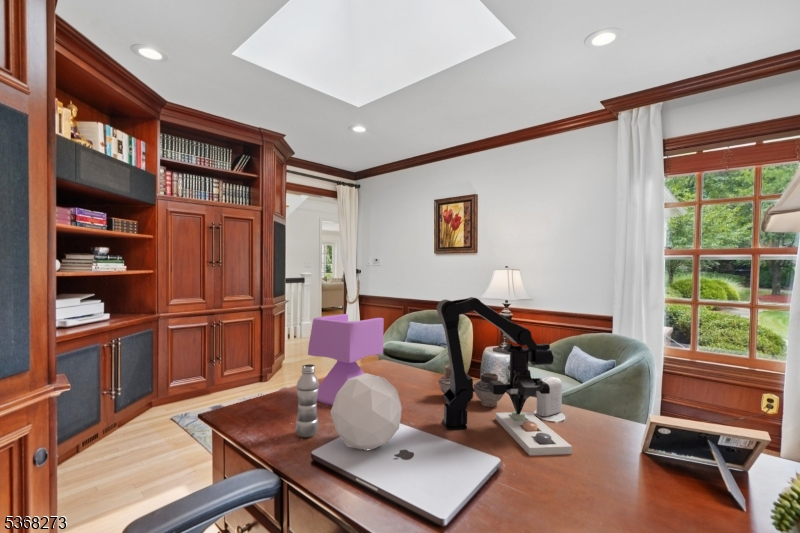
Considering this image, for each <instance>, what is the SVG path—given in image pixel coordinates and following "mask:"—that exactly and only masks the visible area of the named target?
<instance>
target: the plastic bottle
mask: <svg viewBox="0 0 800 533" xmlns="http://www.w3.org/2000/svg"><path fill="white" fill-rule="evenodd" d="M315 373H316V366H315V364H310V363H309V364H303V365H302V366H301V376H299V379H298V380H297V383H296V395H297V416H296V422H295V426H294V427H295V433H296V434H297V436H298V437H300V438H311V437H312V436H315V435H316V434H317V432H318V431H319V430H318V429H319V426H320V424H319V418H318V407H317V406H318V401H317V396H318V389H319V385H320V381H319V379H318V377H317V376H316V374H315Z"/></svg>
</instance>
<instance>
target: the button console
mask: <svg viewBox="0 0 800 533" xmlns="http://www.w3.org/2000/svg"><path fill="white" fill-rule="evenodd" d="M521 412H522V413H524V414H525V420H520V421H514V420H513V419H512V412H495V421H496V422H498V424H500V425H501V427H503V429H504V430H505V431H506V432H507V433H508V434H509V435H510V436H511V437H512V439H514V441H515V442H516V443H517V444H518V445H519V446H520V447H521V448H522V449H523V450H524V452H526V454H527V455H528V456H550V455H551V456H554V455H573V445H571V444H570V443H569V442H567V440H565V439H563V437H561V436H560V435H559V434H558V433H556V431H555V430H553V429H552V428H550V427H549V425H547V424H546V423H544V422H543V421H542V420H540V419H539V418H538V416H537V417H536V415H535V414H533V413H532V412H530V411H526V412H525V411H521ZM525 421H531V422H534V423H536V424H537V431H536V432H526V431H524V430H523V422H525ZM537 433H546V434H548V435H550V436H551V444H547V445H539V444H538V443H537V442H536V434H537Z"/></svg>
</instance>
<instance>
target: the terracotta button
mask: <svg viewBox="0 0 800 533" xmlns="http://www.w3.org/2000/svg"><path fill="white" fill-rule="evenodd" d="M523 430H524V431H526V432H536V431H537V424H536V423H534V422H531V421H525V422H523Z"/></svg>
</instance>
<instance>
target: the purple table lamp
mask: <svg viewBox="0 0 800 533" xmlns="http://www.w3.org/2000/svg"><path fill="white" fill-rule="evenodd" d="M384 326H385V325H384V317H376V318H375V317H374V318H369V319H363V320H357V321H356V320H353V321H352V320H350V321H349V314H348V313H343V314H335V315H334V314H333V315H328V316H327V315H326V316H318V317H314V318H313V319H312V325H311V329H310V335H309V342H308V346H307V348H308V349H307V351H308V352H307V355H308V356H312V357H322V358H323V357H324V358H330V359H333V360H336V362H335V364H333V367H332V368H331V370H330V371H329V372H328V373H327V374H326V376H325V377H324V379H323V380H322V381H321V382H320V383H319V389H318V396H317V402H319V403H322V404H326V405H330V406H333V403H334V400H335V397H336V394H337V393H338V391H339V390H340V389H341V388H342V386H343V385H344V384H345V382H346V381H347V380H348V379H350V378H353V377H356V376H359V375H362V374H365V372H364V371H363V370H362V368H361V367H360V366H359V365H358V363H357V361H360V360H362V359H364V358H366V357H370V356H377V355H381V354H384V329H385V328H384Z"/></svg>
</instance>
